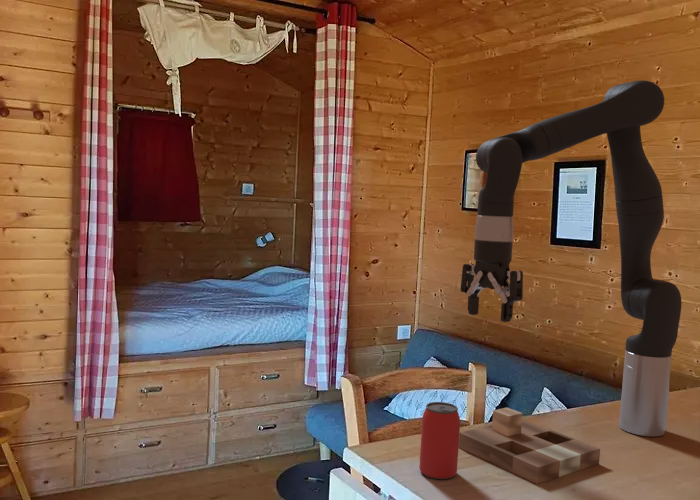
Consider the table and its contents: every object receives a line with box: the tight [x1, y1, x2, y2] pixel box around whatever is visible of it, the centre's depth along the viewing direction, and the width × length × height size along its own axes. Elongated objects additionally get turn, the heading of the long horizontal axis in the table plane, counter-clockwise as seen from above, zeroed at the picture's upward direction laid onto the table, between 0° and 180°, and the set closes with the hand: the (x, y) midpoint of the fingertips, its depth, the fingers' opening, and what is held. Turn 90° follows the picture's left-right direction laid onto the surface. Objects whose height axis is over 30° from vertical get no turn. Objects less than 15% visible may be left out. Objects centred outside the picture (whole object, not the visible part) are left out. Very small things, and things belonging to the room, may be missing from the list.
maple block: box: [491, 407, 523, 436], centre depth 132 cm, size 4×4×4 cm
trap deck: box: [458, 418, 601, 485], centre depth 128 cm, size 18×19×3 cm
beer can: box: [418, 401, 461, 480], centre depth 117 cm, size 7×7×12 cm
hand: (488, 317), depth 135 cm, fingers open, 8 cm apart
